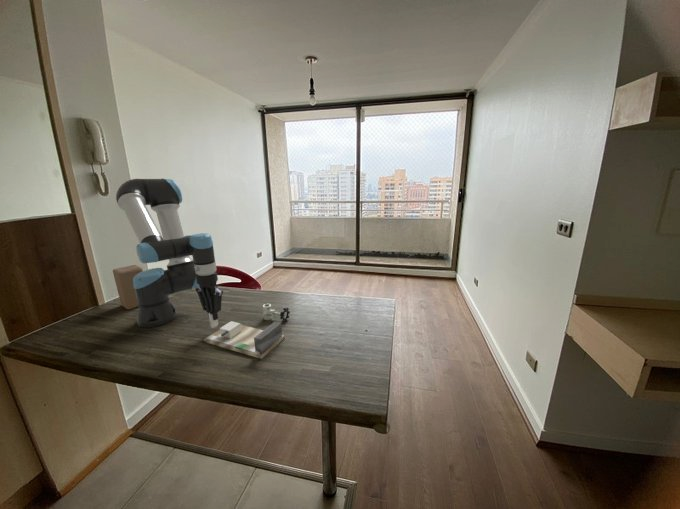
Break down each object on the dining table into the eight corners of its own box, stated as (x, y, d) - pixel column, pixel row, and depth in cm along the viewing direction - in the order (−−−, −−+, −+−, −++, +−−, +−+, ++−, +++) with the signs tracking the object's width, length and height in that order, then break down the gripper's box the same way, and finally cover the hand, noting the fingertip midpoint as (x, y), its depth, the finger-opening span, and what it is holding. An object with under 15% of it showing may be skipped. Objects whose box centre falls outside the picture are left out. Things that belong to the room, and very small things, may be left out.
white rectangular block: (215, 339, 102) (214, 331, 101) (232, 328, 110) (231, 321, 109) (225, 342, 101) (223, 334, 100) (241, 331, 108) (240, 323, 107)
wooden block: (143, 298, 144) (135, 264, 139) (150, 303, 138) (142, 267, 133) (120, 305, 136) (111, 269, 131) (127, 310, 130) (118, 272, 125)
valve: (259, 320, 119) (282, 325, 115) (258, 307, 117) (281, 311, 113) (268, 314, 125) (290, 318, 121) (267, 301, 123) (289, 305, 119)
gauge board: (204, 341, 103) (202, 325, 101) (231, 324, 116) (229, 310, 114) (261, 359, 93) (259, 341, 91) (284, 338, 105) (283, 322, 103)
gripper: (186, 273, 103) (195, 327, 109) (210, 277, 98) (218, 333, 104) (202, 268, 109) (210, 319, 115) (226, 271, 104) (233, 324, 110)
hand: (214, 326), depth 109 cm, fingers closed
